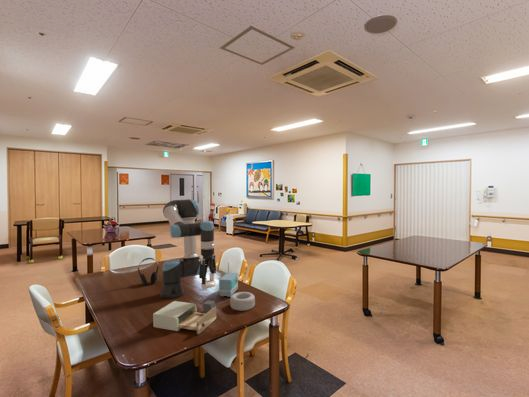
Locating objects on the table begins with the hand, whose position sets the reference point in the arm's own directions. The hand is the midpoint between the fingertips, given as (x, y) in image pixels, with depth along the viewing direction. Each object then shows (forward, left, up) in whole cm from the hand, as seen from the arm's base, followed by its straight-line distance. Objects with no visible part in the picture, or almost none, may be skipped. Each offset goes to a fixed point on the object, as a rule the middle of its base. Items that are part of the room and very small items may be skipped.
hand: (208, 286), depth 167 cm
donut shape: (+15, +14, -16) cm, 26 cm away
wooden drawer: (+1, -15, -15) cm, 21 cm away
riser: (0, 0, -15) cm, 15 cm away
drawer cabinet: (-12, -15, -15) cm, 24 cm away
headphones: (-70, +31, -15) cm, 78 cm away
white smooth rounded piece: (0, 0, +1) cm, 1 cm away
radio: (-2, +31, -15) cm, 34 cm away
